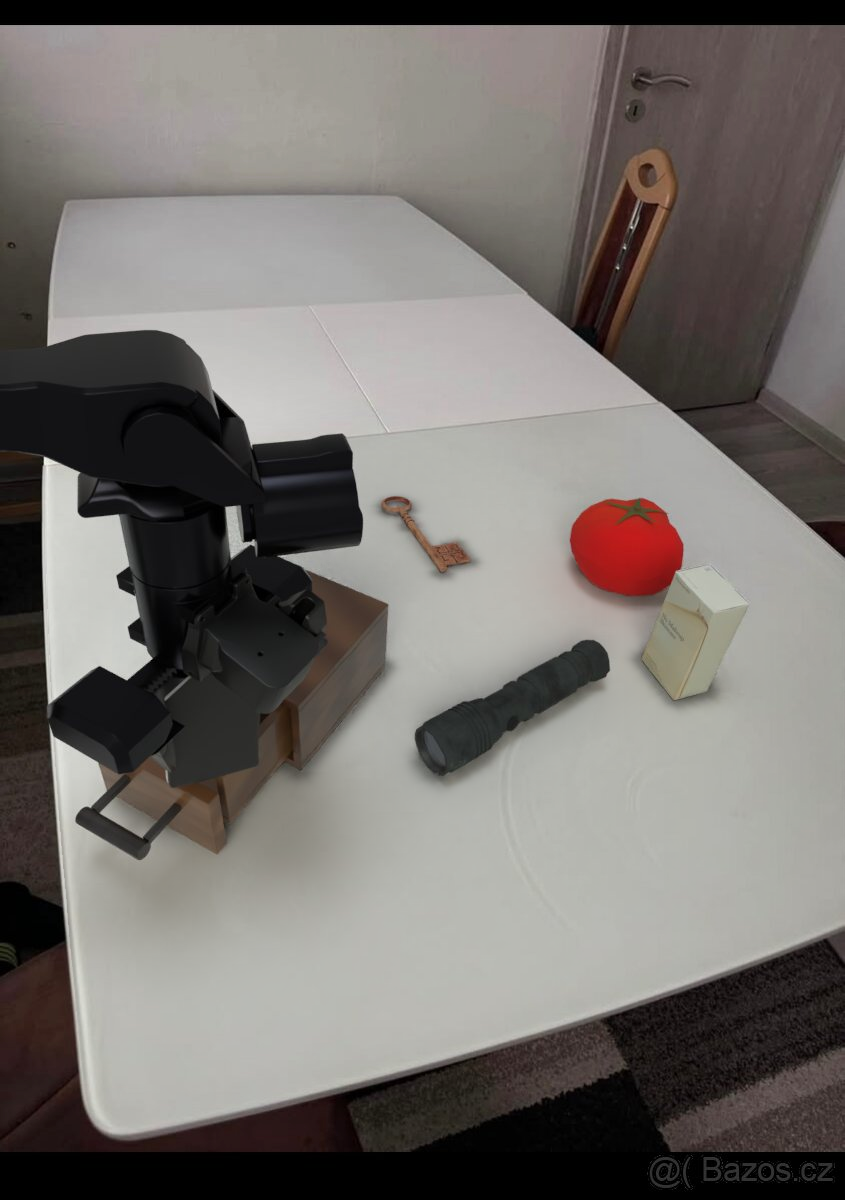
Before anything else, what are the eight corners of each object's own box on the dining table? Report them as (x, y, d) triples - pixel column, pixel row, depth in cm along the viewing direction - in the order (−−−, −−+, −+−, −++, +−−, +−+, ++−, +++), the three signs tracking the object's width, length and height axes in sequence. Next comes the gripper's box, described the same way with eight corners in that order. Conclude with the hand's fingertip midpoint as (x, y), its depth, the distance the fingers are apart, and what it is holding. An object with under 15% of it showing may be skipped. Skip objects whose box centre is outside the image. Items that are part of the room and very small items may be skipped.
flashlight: (411, 750, 73) (414, 714, 70) (572, 660, 84) (581, 624, 80) (445, 788, 71) (450, 753, 67) (607, 690, 81) (619, 654, 77)
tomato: (656, 626, 88) (682, 552, 82) (548, 584, 93) (565, 510, 86) (684, 572, 96) (710, 500, 89) (583, 535, 100) (601, 463, 93)
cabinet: (301, 770, 71) (298, 705, 65) (187, 712, 75) (175, 647, 69) (385, 667, 81) (388, 603, 75) (280, 621, 85) (276, 557, 79)
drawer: (175, 906, 60) (161, 857, 56) (60, 837, 64) (39, 785, 59) (314, 738, 73) (313, 687, 68) (212, 688, 76) (204, 636, 72)
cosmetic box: (639, 659, 84) (671, 569, 76) (675, 650, 86) (709, 560, 78) (674, 703, 80) (712, 612, 72) (711, 692, 81) (752, 602, 73)
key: (472, 567, 94) (418, 496, 104) (473, 561, 94) (419, 490, 103) (427, 575, 92) (376, 502, 102) (428, 568, 91) (377, 495, 101)
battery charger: (249, 730, 63) (247, 621, 56) (263, 768, 61) (263, 659, 53) (156, 753, 60) (142, 642, 53) (167, 793, 58) (153, 682, 50)
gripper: (177, 720, 38) (209, 889, 49) (381, 527, 51) (372, 693, 61) (10, 629, 42) (72, 805, 52) (239, 470, 55) (253, 637, 65)
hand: (206, 730), depth 58 cm, fingers closed on battery charger, 7 cm apart
